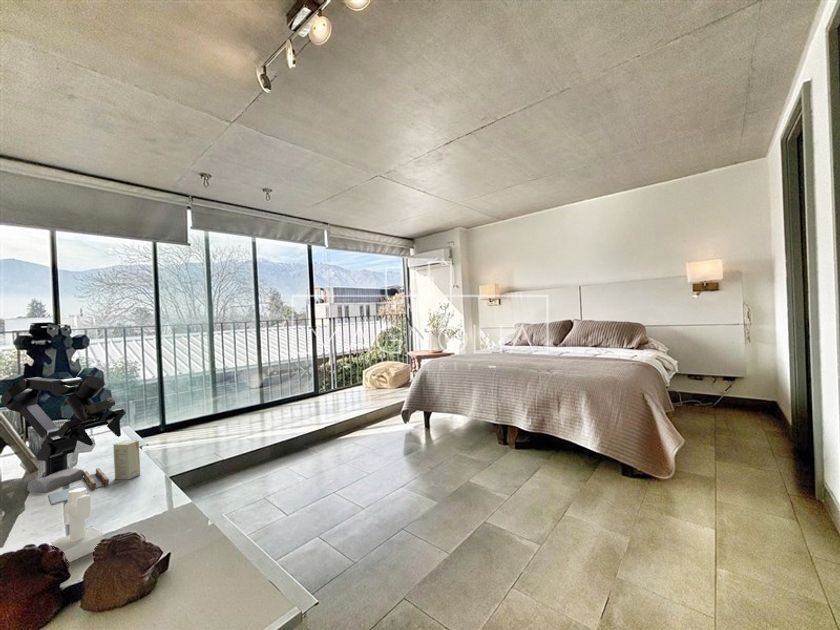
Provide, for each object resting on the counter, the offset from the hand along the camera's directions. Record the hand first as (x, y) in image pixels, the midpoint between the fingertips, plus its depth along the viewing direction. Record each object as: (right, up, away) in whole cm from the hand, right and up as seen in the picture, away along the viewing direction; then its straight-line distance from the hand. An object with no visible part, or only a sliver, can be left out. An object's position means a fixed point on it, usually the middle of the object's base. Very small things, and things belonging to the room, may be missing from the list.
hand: (106, 440), depth 125 cm
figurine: (+32, -11, -43) cm, 55 cm away
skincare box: (+8, -13, -1) cm, 15 cm away
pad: (-1, -13, -13) cm, 18 cm away
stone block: (-14, -14, -4) cm, 20 cm away
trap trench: (-1, -13, -3) cm, 13 cm away
